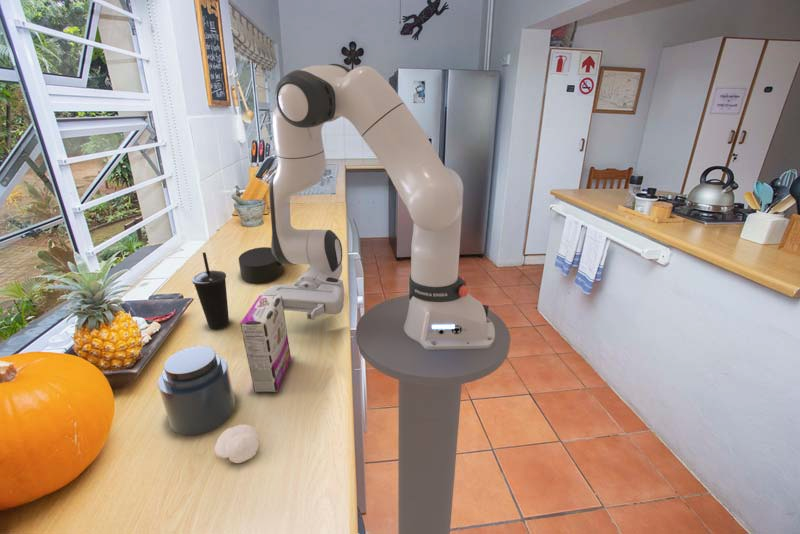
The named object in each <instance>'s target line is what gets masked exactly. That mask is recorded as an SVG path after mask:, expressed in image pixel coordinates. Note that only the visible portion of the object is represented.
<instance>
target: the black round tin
mask: <svg viewBox="0 0 800 534" xmlns="http://www.w3.org/2000/svg"><path fill="white" fill-rule="evenodd" d="M238 264H239V271H240V276H241V279H242V280H243V282H245V283H247V284H250V285H263V284H268V283H271V282H275V281H276V280H277V279H280V277H281V276H282V275H283V272H284V270H283V265H282V264H281V263H279V262H278V261H277V260H276V259H275V258H274V256H273V254H272V250H271V247H268V246H266V247H265V246H263V247H255V248H252V249H248V250H246V251H243V253H241V254H240V255H239V257H238Z"/></svg>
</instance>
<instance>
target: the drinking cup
mask: <svg viewBox="0 0 800 534" xmlns="http://www.w3.org/2000/svg"><path fill="white" fill-rule="evenodd" d="M202 257H203V262H204V267H205V271H202V272H200V273H198V274H195V276H193V277H192V279H191V282H192V284H193V285H194V287H195V290H196V293H197V296H198V299H199V303H200V306H201V308H202V312H203V314H204V317H205V321H206V322H207V326H208V328H209V329H210V330H222V329H224V328H226V327H227V326H228V325H229V324H230V318H229V317H230V316H229V307H228V306H229V305H228V294H227V283H226V278H227V274H226V272H225V271H223V270H212V269H211V270H210V267H209V262H208V257H207V252H205V251H204V252H202Z"/></svg>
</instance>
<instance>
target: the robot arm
mask: <svg viewBox="0 0 800 534" xmlns="http://www.w3.org/2000/svg"><path fill="white" fill-rule="evenodd" d="M274 99H275V105H276V107H275V109H274V110H273V112H272V134H273V142H274V147H275V152H276V157H277V158H276V159H277V168H276V172H274V173H273V174H272V175H271V176H270V180H269V187H268V188H269V189H268V191H269V194H268V195H269V209H270V223H271V243H270V244H271V245H270V248H271V250H272V254H273V256H274V258H275V259H276V260H277V261H278V262H279V263H281V264H282V266H296V265H305V266H306V265H308V266H309V267H308V269H307V270H305V271H304V272H303V273H302V274H301V275H300V276H299V278H298V279H297V280H296V281H295V282H294V284H293V285H292V284H274V285H272V286H271V287H269V288H267V289H266V290H265V291H263V292H262V293H261V294H260V295H282V303H283V309H284V311H289V312H290V311H292V312H299V313H303V312H304V313H306V316H307V317H306V318H307V320H311V321H314V320H315V319H316V318H317V317H320V316H322V315H324V314H325V315H338V314H340V313H342V311H343V308H344V305H345V304H344V303H345V288H344V287H345V286H344V282H343V280H342V279H340V278H341V276H342V272H343V263H342V261H343V246H342V242H341V239H339V237H338V236H337V234H336V233H335V232H334V231H333V230H331V229H298V228H295V227H293V226H292V224H291V204H290V203H291V198H292V197H294V196H295V195H298V194H301V193H302V192H305V191H308V190H309V189H311V188H313V187H314V186H316V185H317V184H319V182H320V181H321V180H322V179H323V177H324V175H325V173H326V170H327V169H326V167H327V166H326V165H327V163H326V161H327V160H326V154H325V149H324V143H323V136H322V129H323V126H324V125H325V124H326V123H332V122H334V121H336V120H338V119H340V118H341V117H342V118H345V119H346V120H348V121H349V122H350V123H351V125H353V127H354V128H355V129H356V131H357V132H358V134H359V135H360V137H362V139H363V141H364V142H365V143H366V146H368V148H369V149H370V150H371V152H372V153H373V154H374V156H375V157H376V159H377V160H378V161H379V163H380V164H381V166H382V168H384V170H385V171H386V173H387V175H388V177H389V178H390V180H391V182H392V184H393V187H394V188H395V190H396V191H397V193H398V195H399V197H400V198H401V200H402V202H403V204H404V205H405V207H406V209H407V212H408V214H409V216H410V218H411V220H412V222H413V225H412V226H413V227H412V236H411V237H412V238H411V245H410V246H411V247H410V249H411V251H410V252H411V253H410V262H411V263H410V274H409V278H408V285H407V286H408V290H407V291H408V292H407V293H408V294H407V295H409V299H410V301H409V309H408V314H407V318H406V321H405V324H404V331H405V333H406V334H407V335H408V336H409V337H410V338H412V339H413V340H415V341H417V342H419V343H420V344H421V345H422V346H423V347H424V348H425V349H427V350H448V349H486V348H490V347H491V346H492V345H493V343H494V340H495V329H494V325H493V323H492V322H491V320H490V319H489V318H488V317H487V315H488V309H489V305H488V304H482V303H481V301H480V300H478V299H476V298H475V297H474V296H472V295H471V294H470V293H469V292H468V291H469V289H468V287H467V282H466V280H465V277H464V276H462V277H461V276H459V265H460V262H459V261H460V248H461V233H462V217H463V203H464V184H463V180H462V178H461V177H460V175H459V173H457V172H456V171H455V170H453V169H452V168H450V167H447V166H445V165H444V163H443V161H442V160H441V158H440V157H439V155H438V154H437V151H436V150H435V148H434V146H433V144H432V142H431V141H430V139H429V137H428V135H427V133H426V132H425V131H424V129H423V128H422V127H421V125H420V124H419V122H418V121H417V119H416V118H415V116H414V115H413V114H412V111H410V109H409V108H408V106H407V105H406V104H405V102H404V101H403V99H402V98H401V97H400V95H399V93H398V92H397V91H396V90H395V89H394V88H393V86H391V84H390V83H389V82H388V80H386V79H385V77H383V75H381V73H379V72H378V71H377V70H376V69H375V68H374V67H372V66H369V65H362V66H361V65H360V66H358V67H355V68H353V69H351V68H349V67H347V66H346V65H344V64H339V63H329V64H324V65H323V64H322V65H321V64H320V65H319V64H317V65H310V66H306V67H304V68H300V69H296V70H292V71H290V72H289V73H287V74H285V75H284V76H283V77H282V78H280V80H279V81H278V83H277V84H276V88H275V92H274Z"/></svg>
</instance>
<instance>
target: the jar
mask: <svg viewBox="0 0 800 534" xmlns="http://www.w3.org/2000/svg"><path fill="white" fill-rule="evenodd" d="M157 386H158V387H157V388H158V390H159V394H160V397H161V400H162V403H163V406H164V410H165V413H166V415H167V416H166V417H167V419H168V420H167V421H168V423H169V427H170V429H171V430H172V431H173V432H174V433H175V434H177V435H180V436H187V437H192V436H199V435H203V434H207V433H209V432H211V431H213V430H214V431H215V430H216V429H217V428H219V427H220V426H222V425H224V423H226V422H227V421H228V420H229V419H230V418H231V416H232V415H233V414H234V412H235V410H236V399H235V393H234V390H233V385H232V381H231V375H230V371H229V366H228V362H227V361H226V359H225V358H223V357H221V356H220V354H218V353H216V351H215V349H214V348H212V347H210V346H208V345H207V346H205V345H195V346H190V347H186V348H183V349H181V350H178V351H176V352H174V353H173V354H171V355H170V356H169V357H168V358H167V359H166V360H165V362H164V364H163V370H162V372H161V375H160V376H159V378H158V380H157Z"/></svg>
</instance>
